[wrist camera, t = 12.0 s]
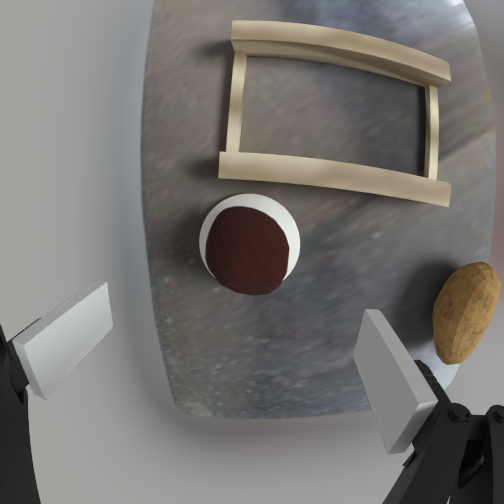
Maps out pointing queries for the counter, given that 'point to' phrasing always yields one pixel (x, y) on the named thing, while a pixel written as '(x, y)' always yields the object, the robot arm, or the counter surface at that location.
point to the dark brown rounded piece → (247, 251)
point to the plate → (265, 206)
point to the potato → (464, 311)
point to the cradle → (345, 54)
